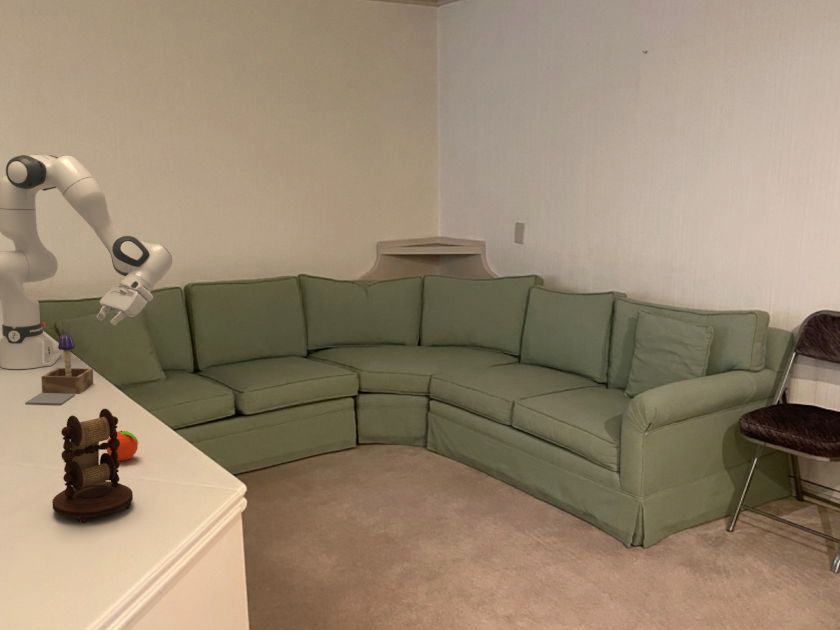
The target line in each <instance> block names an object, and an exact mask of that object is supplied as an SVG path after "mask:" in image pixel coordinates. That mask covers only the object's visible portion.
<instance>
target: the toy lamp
mask: <svg viewBox="0 0 840 630" xmlns="http://www.w3.org/2000/svg"><path fill="white" fill-rule="evenodd" d="M57 345H58V346H57V348H58V350H61V351H63V353H64V355H63V357H64V368H65V372H66V374H65V376H70V377H72V374H71V371H72V370H71V368H72V362H71V361H72V359H71V350H73V349H75V347H76V345H75V343H74V339H73V337H72V335H71V334H62V335H60V337H59V341H58V344H57Z"/></svg>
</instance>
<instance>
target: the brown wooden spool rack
mask: <svg viewBox="0 0 840 630" xmlns="http://www.w3.org/2000/svg"><path fill="white" fill-rule="evenodd" d="M118 424H119V419H118V417H117V416H115V415H113V414H112V412H111V410H109V409H108V408H102V409H101V410H100V412H99V416H98V417H97V418H93V419H88V420H84V421H80V419H79V418H78V417H77V416H76V415H74V414H73V415H70V416H69V417H68V418H67V420H66V426H64V427H62V429H61V435H62V436H63V437H62V440H64V442H63V446H62V447H63V449H64V450H63V451H62V452H61V459H62V460H63V463H65V465H64V469H63V471H64V472H65V473H64V475H63V477H62V479H63V481H64V482H65V483H64V486H65V489H63V490H62V491H60V492H59V493H57V494H55V496H54V497H53V499H52V510H53V511H54V512H55V513H56V514H58V515H60V516H65V517H69V518H79V521H80V523H81V524H84V523H85V522H86V518H93V517H99V516H100V517H101V516H106V515H108V514H113V513H116V512H118V511H120V510H123V509H124V508H126V509H130V508H131V503H132V501H133V499H134V498H133V490H132V489H131V487H129V486H126V485H124V484H122V483H119V481H120V476H119V474H118V473H119V471H120V470H119V468H120V466H121V465H120V461H117V459H118V454H117V451H116V450H118V447H119V446H120V441H119V439H117V436H118V434H117V432H118V431H117V429H118V426H117V425H118ZM109 438H111V439H110V440H109V441H108V439H109ZM103 441H106V442H103ZM107 441H108V443H107ZM100 442H102V443H100ZM108 447H109V448H110V450H111V451H112V453H111V456H110V455H109V454H108V453H107V452H104V453H102V454H101V456H100V453H99V451H100V450H101V451H107V450H106V449H107V448H108ZM99 456H100V457H99Z"/></svg>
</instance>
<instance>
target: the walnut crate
mask: <svg viewBox="0 0 840 630" xmlns="http://www.w3.org/2000/svg"><path fill="white" fill-rule="evenodd" d="M71 370H72V371H71V374H72V377H70V376H65V374H66V372H65V367H56V368H54V369H53V370H51V371H49V372H47V373H45V374H43V375H42V376H40V377H41V393H59V394H75V395H76V394H77V395H78V394H79V395H81V394H82V393H83V392H84V391H86V390H87V389H89V388H90V387H92V386H93V385H94V368H81V367H80V368H79V367H77V368H75V367H74V368H73V367H71Z"/></svg>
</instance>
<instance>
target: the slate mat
mask: <svg viewBox="0 0 840 630" xmlns="http://www.w3.org/2000/svg"><path fill="white" fill-rule="evenodd" d="M75 396H76V394H69V393H42V392H40V393H38V394H37V395H35V396H34V397H32V398H30V399H28V400H27V401H25V403H24V404H25V405H34V406H35V405H39V406H40V405H44V406H62V405H63V404H65V403H66V402H68V401H70V400H71V399H72V398H74V397H75Z"/></svg>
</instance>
